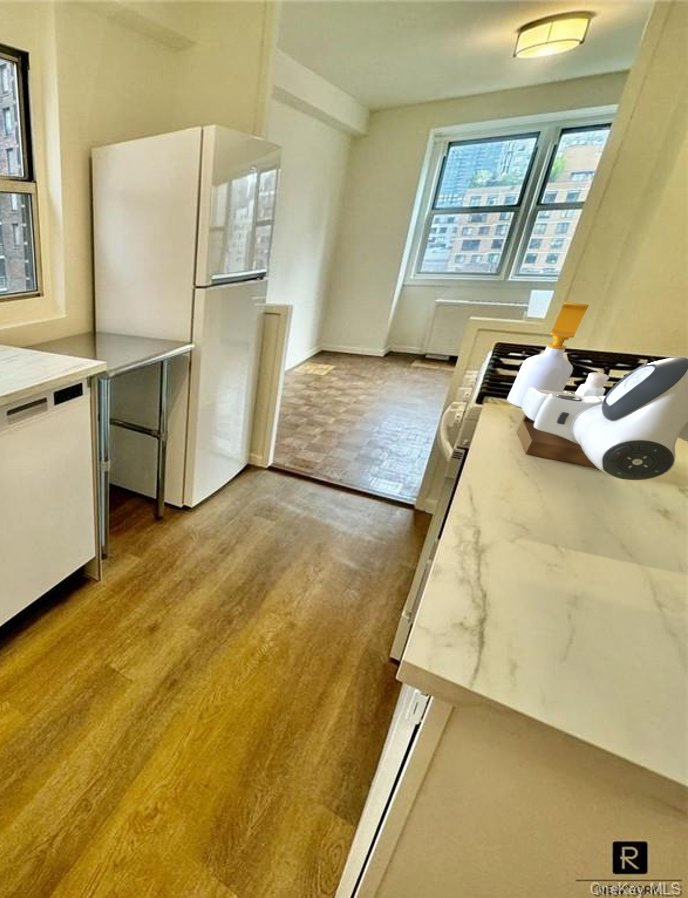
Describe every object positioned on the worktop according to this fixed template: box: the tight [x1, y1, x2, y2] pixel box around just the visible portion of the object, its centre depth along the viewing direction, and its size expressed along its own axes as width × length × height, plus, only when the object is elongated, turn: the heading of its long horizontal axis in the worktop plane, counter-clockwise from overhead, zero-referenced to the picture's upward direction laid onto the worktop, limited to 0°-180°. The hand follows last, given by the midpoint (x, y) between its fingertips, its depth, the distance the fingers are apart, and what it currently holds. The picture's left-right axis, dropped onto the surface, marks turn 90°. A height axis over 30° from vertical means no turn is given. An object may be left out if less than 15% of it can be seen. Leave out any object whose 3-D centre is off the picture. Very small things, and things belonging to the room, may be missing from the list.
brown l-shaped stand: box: [516, 414, 598, 469], centre depth 96 cm, size 12×12×8 cm
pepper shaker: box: [575, 372, 610, 397], centre depth 92 cm, size 5×5×11 cm
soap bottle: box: [506, 302, 589, 408], centre depth 113 cm, size 9×9×25 cm
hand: (584, 397), depth 93 cm, fingers closed on pepper shaker, 4 cm apart
